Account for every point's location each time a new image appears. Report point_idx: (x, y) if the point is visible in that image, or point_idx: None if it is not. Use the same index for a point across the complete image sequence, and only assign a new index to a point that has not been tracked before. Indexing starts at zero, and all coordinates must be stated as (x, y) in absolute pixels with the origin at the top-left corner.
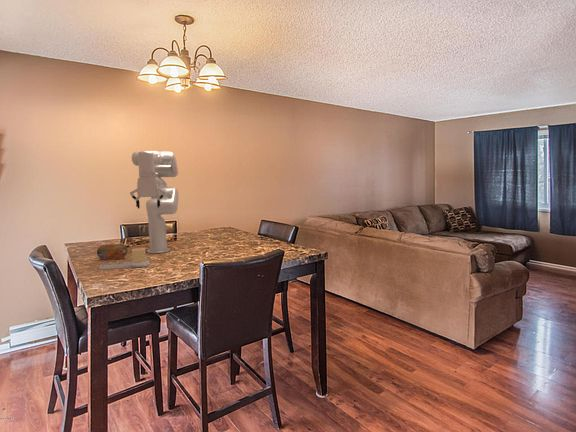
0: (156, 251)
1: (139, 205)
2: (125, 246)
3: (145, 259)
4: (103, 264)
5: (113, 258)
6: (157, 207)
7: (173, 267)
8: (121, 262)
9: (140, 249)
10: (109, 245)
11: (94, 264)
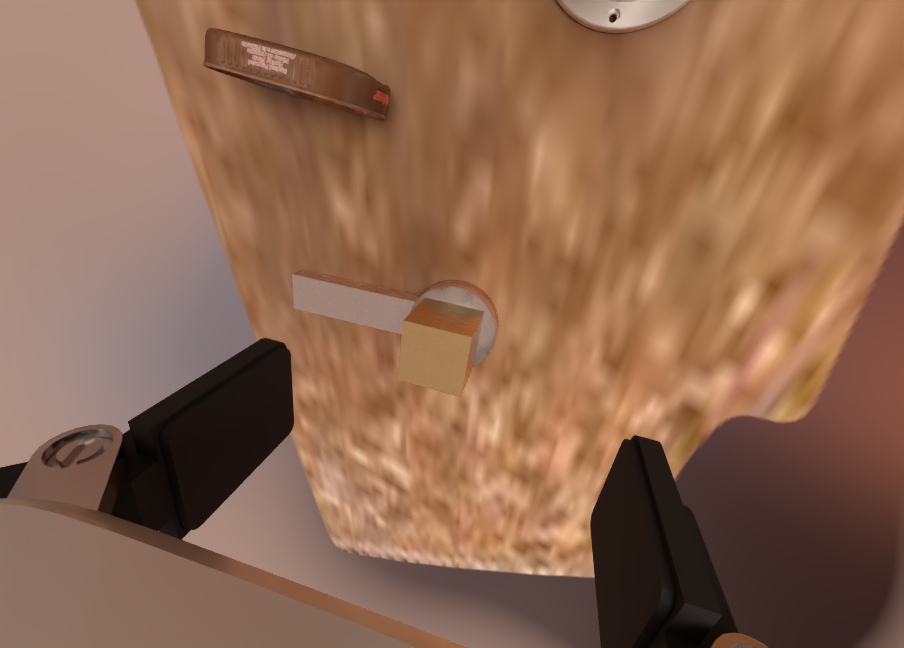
0: (600, 17)
1: (260, 385)
2: (361, 85)
3: (473, 360)
4: (305, 293)
5: (327, 101)
6: (592, 518)
7: (586, 430)
8: (373, 296)
9: (440, 370)
10: (255, 73)
11: (262, 186)
